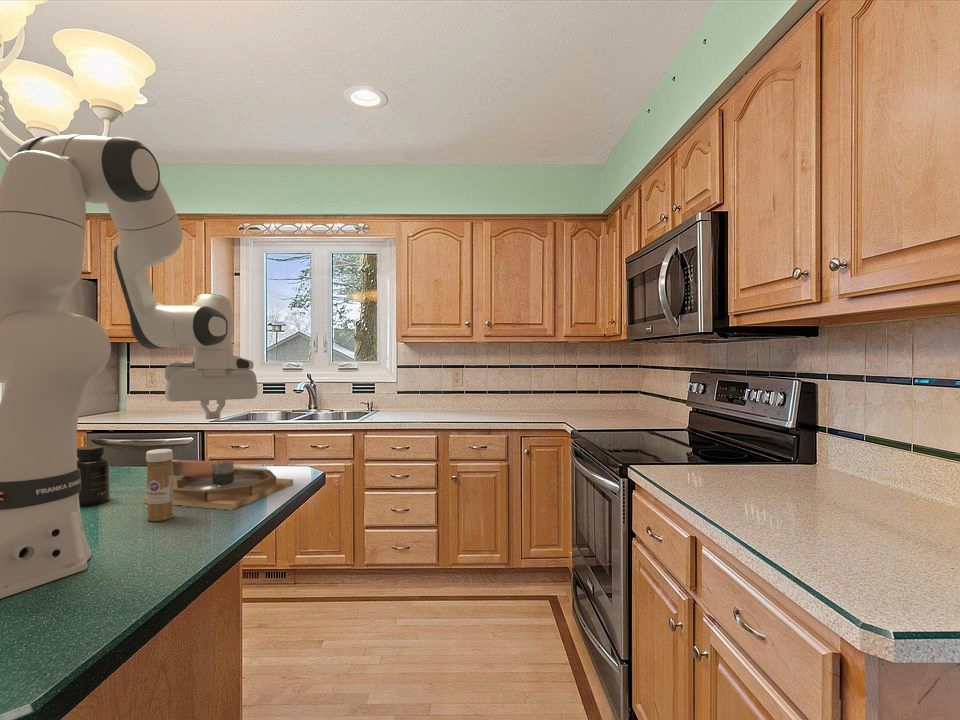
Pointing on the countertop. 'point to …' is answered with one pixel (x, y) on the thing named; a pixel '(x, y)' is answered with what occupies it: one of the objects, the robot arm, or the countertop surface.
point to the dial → (212, 474)
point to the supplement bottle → (93, 475)
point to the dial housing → (227, 491)
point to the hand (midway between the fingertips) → (212, 419)
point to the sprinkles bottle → (159, 484)
